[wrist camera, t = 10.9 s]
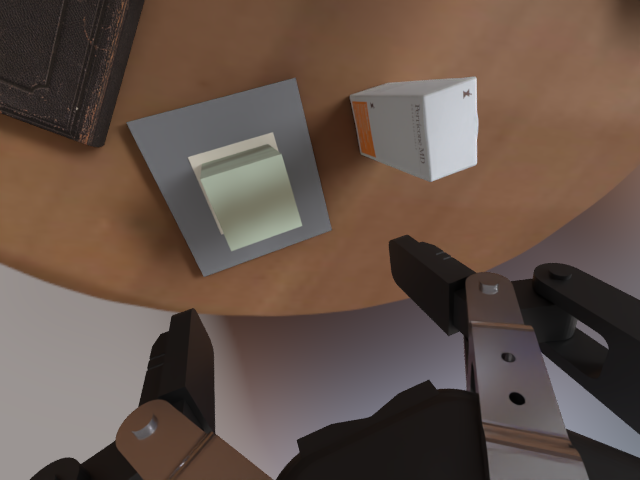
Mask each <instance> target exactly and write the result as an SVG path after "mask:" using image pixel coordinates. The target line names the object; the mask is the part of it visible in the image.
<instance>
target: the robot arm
mask: <svg viewBox="0 0 640 480" xmlns="http://www.w3.org/2000/svg"><path fill="white" fill-rule="evenodd" d="M389 253H390V263H391V272H392V276H393V278H394V281H395V282H396V284H397V285H398V286H399V287H400V288H401V289H402V290H403V291H404V292H405V293H406V294H407V295H408V296H409V297H410V298H411V299H412V300H413V301H414V302H415V303H416V304H417V305H418V306H419V307H420V308H421V309H422V310H423V311H424V312H425V313H426V314H427V315H428V316H429V317H430V318H431V319H432V320H433V321H434V322H435V323H436V324H437V325H438V326H439V327H440V328H441V329H442V330H443V331H444V332H445V333H446V334H447V335H448V336H450V335H452V334H455V333H457V332H459V331H460V332H461V333H462V334H463V336H464V337H463V344H464V360H465V373H466V391H465V390H459V389H438V390H437V389H436V388H435V387H434V386H433V384H432V383H431V382H430V380H427V381H425V382H423V383H421V384H418V385H416V386H414V387H412V388H409V389H407V390H405V391H403V392H401V393H399V394H397V395H396V396H395V397H394V398H393V399H391V400H390V401H389V402H388V403H387V404H386V405H384V406H383V407H382V408H381V409H380V410H378V412H376V413H375V414H374V415H372V416H371V417H368V418H364V419H358V420H352V421H346V422H341V423H335V424H331V425H329V426H326V427H324V428H322V429H320V430H318V431H315V432H313V433H311V434H309V435H306V436H305V437H302V438H300V439H298V440H297V443H298V447H299V451H300V453H299V454H297V455H296V456H295V457H294V458H293V459H292V460H291V461H290V462H289V463H288V464H287V465H286V466H285V468H284V469H283V470H282V471H281V473H280V474H279V476H278V477H277V479H276V480H640V458H638V457H636V456H633V455H631V454H628V453H626V452H623V451H621V450H618V449H616V448H613V447H611V446H608V445H606V444H603V443H601V442H598V441H596V440H593V439H591V438H588V437H585V436H583V435H580V434H578V433H575V432H573V431H570V430H568V429H566V428H565V425H564V422H563V419H562V416H561V412H560V409H559V406H558V403H557V400H556V397H555V394H554V391H553V388H552V385H551V381H550V378H549V375H548V372H547V369H546V366H545V363H544V360H543V357H542V354H541V352H542V353H543V354H544V355H545V356H546V357H548V358H549V359H550V360H551V361H552V362H554V363H555V364H556V365H557V366H558V367H560V368H561V369H562V370H563V371H564V372H566V373H567V374H568V375H569V376H570V377H572V378H573V379H574V380H575V381H576V382H578V383H579V384H580V385H581V386H582V387H584V388H585V389H586V390H587V391H588V392H589V393H591V394H592V395H593V396H594V397H596V398H597V399H598V400H599V401H600V402H602V403H603V404H604V405H605V406H606V407H607V408H609V409H610V410H611V411H612V412H613V413H615V414H616V415H617V416H618V417H619V418H621V419H622V420H623V421H624V422H625V423H627V424H628V425H629V426H630V427H631V428H633V429H634V430H635V431H636V432H637V433H639V434H640V300H638V299H636V298H634V297H633V296H631V295H628V294H626V293H625V292H623V291H621V290H619V289H617V288H615V287H613V286H611V285H609V284H607V283H605V282H603V281H601V280H599V279H597V278H595V277H593V276H591V275H589V274H587V273H585V272H583V271H581V270H579V269H577V268H575V267H572V266H569V265H565V264H560V263H547V264H542V265H539V266H538V267H536V268H535V270H534V274H533V279H526V280H519V281H510V280H508V279H507V278H506V277H504V276H502V275H499V274H495V273H490V272H480V273H476V272H474V271H473V270H471V269H470V268H468V267H467V266H465V265H464V264H462V263H461V262H459V261H458V260H456V259H454V258H453V257H452V258H451V256H450V255H448V254H447V253H445V252H443V251H442V250H441V249H439V248H438V247H436V246H435V245H432V244H428V243H425V242H420V243H419V242H418V241H416V240H415V239H413V238H412V237H410V236H409V235H404V236H401V237H399V238H396V239H393V240H390V241H389ZM577 320H579V321H581V322H582V323H584V324H585V325H587V326H589V327H590V328H592V329H593V330H595V331H596V332H598V333H599V334H600V335H601V336H602V337H603V338H604V339H605V340H606V342H607V344H608V347H609V350H608V349H607V348H605V347H604V346H602V345H601V344H599V343H598V342H597V341H595V340H594V339H592V338H591V337H589V336H588V335H586V334H585V333H583V332H582V331H580V330H579V329H577V328H576V324H577ZM147 368H148V371H147V372H146V376H145V381H144V385H143V389H142V393H141V398H140V402H139V406H138V408H137V409H136V410H134V411H133V412H132V413H131V414H130V415H129V416H128V417H127V418H126V419H125V420H124V422H123V423H122V425H121V426H120V428H119V430H118V432H117V435H116V440H115V441H114V442H113V443H111V444H110V445H108V446H107V447H106V448H104V449H103V450H101V451H100V452H98V453H97V454H95V455H94V456H92V457H91V458H89V459H88V460H86V461H85V462H83V463H82V464H80V463H79V462H78V461H77V460H76V459H74V458H62V459H59V460H57V461H54V462H52V463H50V464H49V465H47V466H46V467H44V468H43V469H41V470H40V471H39V472H38V473H37V474H35V475H34V476H33V477H32V478H31V479H30V480H273V479H272V478H271V477H269V476H268V475H267V474H265V473H264V472H263V471H262V470H260V469H259V468H258V467H257V466H255V465H254V464H253V463H252V462H250V461H249V460H248V459H247V458H245V457H244V456H243V455H242V454H240V453H239V452H238V451H237V450H235V449H234V448H233V447H231V446H230V445H229V444H228V443H226V442H225V441H224V440H222V439H221V438H220V437H219V436H218V435H216V434H215V395H214V352H213V346H212V344H211V340H210V338H209V336H208V334H207V332H206V330H205V328H204V326H203V324H202V322H201V320H200V318H199V316H198V314H197V312H196V310H195V309H194V308H192V309H189V310H187V311H184V312H181V313H178V314H175V315H173V316H172V317H171V322H170V328H169V331H168V332H165V333H162V334H160V336H159V337H158V339H157V340H156V342H155V343H154V345H153V346H152V350H151V354H150V361H149V363H148V367H147Z"/></svg>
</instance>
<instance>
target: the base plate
mask: <svg viewBox="0 0 640 480" xmlns="http://www.w3.org/2000/svg"><path fill="white" fill-rule="evenodd" d="M126 123H127V125H128V127H129V129H130V131H131V133H132V135H133V137H134V139H135V141H136V143H137V145H138V147H139V149H140V151H141V153H142V155H143V157H144V159H145V161H146V163H147V165H148V167H149V169H150V171H151V173H152V175H153V177H154V179H155V181H156V183H157V184H158V186H159V188H160V190H161V192H162V194H163V196H164V198H165V200H166V202H167V204H168V206H169V208H170V210H171V212H172V214H173V216H174V218H175V220H176V222H177V224H178V226H179V228H180V230H181V232H182V234H183V236H184V238H185V240H186V242H187V244H188V246H189V248H190V250H191V252H192V254H193V256H194V258H195V260H196V262H197V264H198V266H199V268H200V270H201V272H202V274H203V276H204V277H205V276H208V275H210V274H213V273H216V272H219V271H221V270H224V269H227V268H230V267H232V266H235V265H238V264H241V263H243V262H246V261H249V260H251V259H254V258H257V257H260V256H262V255H265V254H268V253H271V252H273V251H276V250H279V249H282V248H284V247H287V246H290V245H292V244H295V243H298V242H301V241H303V240H306V239H309V238H312V237H314V236H317V235H320V234H322V233H325V232H328V231H331V230H332V228H331V224H330V220H329V216H328V212H327V208H326V203H325V199H324V195H323V191H322V187H321V182H320V178H319V174H318V170H317V166H316V162H315V157H314V153H313V149H312V145H311V141H310V136H309V132H308V128H307V124H306V120H305V115H304V111H303V107H302V103H301V99H300V95H299V90H298V86H297V82H296V78H293V79H289V80H285V81H281V82H277V83H274V84H270V85H266V86H262V87H259V88H255V89H251V90H247V91H243V92H240V93H236V94H232V95H228V96H225V97H221V98H217V99H213V100H209V101H206V102H202V103H198V104H194V105H190V106H187V107H183V108H179V109H175V110H172V111H168V112H164V113H160V114H156V115H153V116H149V117H145V118H141V119H138V120H134V121H130V122H126ZM266 144H269V145H270V146H272V147H273V148H274V149H276V150H277V151H278V152H280V153H281V154H282V157H283V161H284V164H285V168H286V171H287V174H288V178H289V181H290V185H291V188H292V192H293V195H294V199H295V202H296V205H297V209H298V212H299V216H300V219H301V223H302V226H300V227H298V228H295V229H292V230H289V231H286V232H284V233H281V234H278V235H275V236H273V237H270V238H267V239H264V240H261V241H259V242H256V243H253V244H250V245H247V246H245V247H242V248H239V249H236V250H234V251H231V249H230V247H229V245H228V242H227V240H226V238H225V235H224V233H223V231H222V228H221V226H220V224H219V222H218V219H217V217H216V215H215V212H214V210H213V208H212V205H211V203H210V201H209V198H208V196H207V194H206V192H205V189H204V187H203V185H202V182H201V180H200V176H201V167H202V164H203V163H206V162H210V161H213V160H216V159H220V158H223V157H226V156H229V155H233V154H236V153H239V152H243V151H246V150H249V149H253V148H256V147H259V146H263V145H266Z"/></svg>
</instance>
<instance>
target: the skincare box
mask: <svg viewBox="0 0 640 480" xmlns="http://www.w3.org/2000/svg"><path fill="white" fill-rule="evenodd" d="M350 101H351V105H352V111H353V116H354V121H355V125H356V131H357V137H358V143H359V148H360V154H361V155H363V156H366V157H368V158H371V159H373V160H376V161H378V162H381V163H383V164H386V165H389V166H391V167H394V168H396V169H399V170H401V171H404V172H406V173H409V174H411V175H414V176H417V177H419V178H421V179H424V180H427V181H429V182H432V181H434V180H437V179H440V178H442V177H445V176H448V175H451V174H453V173H456V172H459V171H461V170H464V169H467V168H469V167H472V166H475V165H476V164H477V135H478V115H477V79H476V77H466V78H452V79H437V80H422V81H409V82H394V83H386V84H383V85H380V86H376V87H373V88H370V89H367V90H364V91H361V92H358V93H355V94H352V95H350Z"/></svg>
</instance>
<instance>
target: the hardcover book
mask: <svg viewBox="0 0 640 480" xmlns="http://www.w3.org/2000/svg"><path fill="white" fill-rule="evenodd" d="M143 4H144V0H0V113H2V114H4V115H7V116H10V117H12V118H15V119H18V120H21V121H23V122H26V123H29V124H31V125H34V126H37V127H40V128H42V129H45V130H48V131H50V132H53V133H56V134H59V135H61V136H64V137H67V138H69V139H72V140H75V141H78V142H80V143H83V144H86V145H89V146H93V147H101V146H103V145H104V143H105V140H106V136H107V133H108V129H109V125H110V122H111V118H112V115H113V111H114V108H115V104H116V100H117V97H118V93H119V90H120V86H121V83H122V79H123V75H124V72H125V68H126V65H127V61H128V58H129V54H130V50H131V47H132V43H133V40H134V36H135V33H136V29H137V25H138V22H139V18H140V15H141V11H142V7H143Z"/></svg>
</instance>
